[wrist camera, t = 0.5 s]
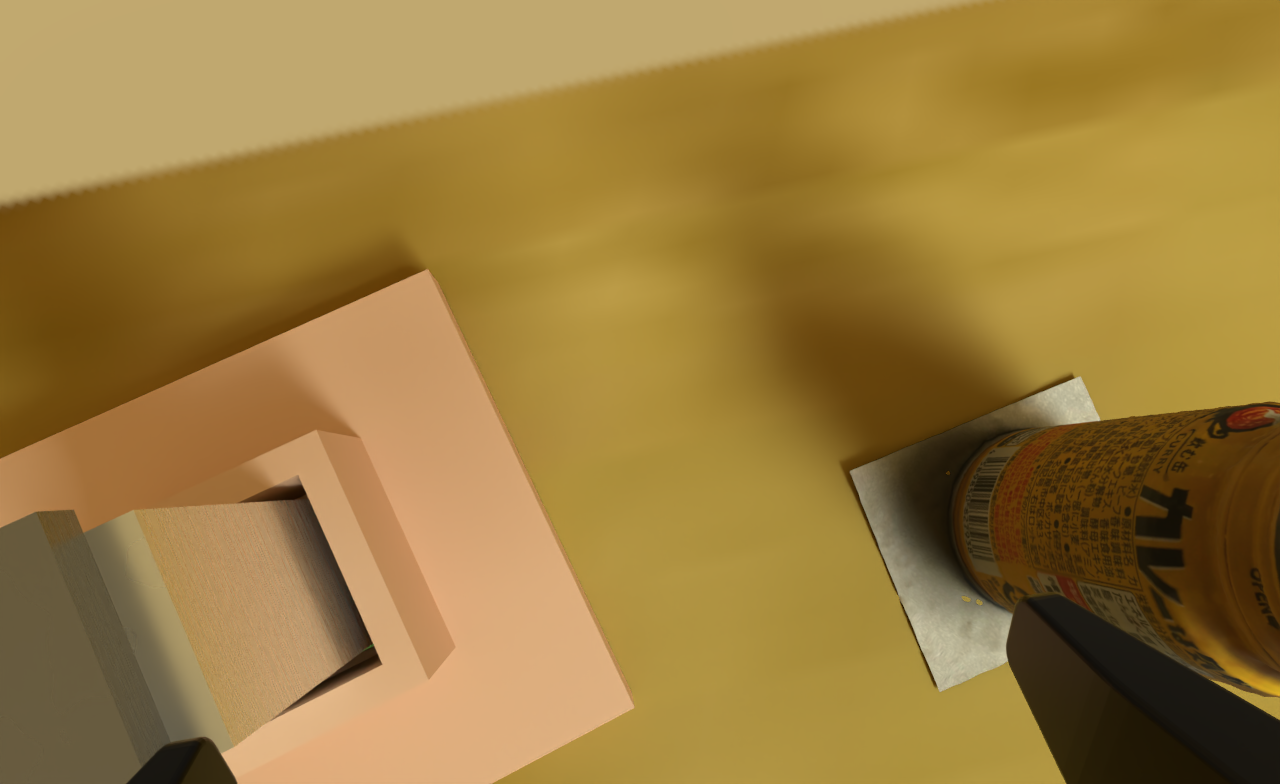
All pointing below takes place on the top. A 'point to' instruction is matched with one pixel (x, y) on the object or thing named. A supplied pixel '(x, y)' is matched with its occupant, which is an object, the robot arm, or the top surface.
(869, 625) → the top surface
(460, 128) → the top surface
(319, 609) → the column
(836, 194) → the top surface
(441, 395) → the stand
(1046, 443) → the condiment
